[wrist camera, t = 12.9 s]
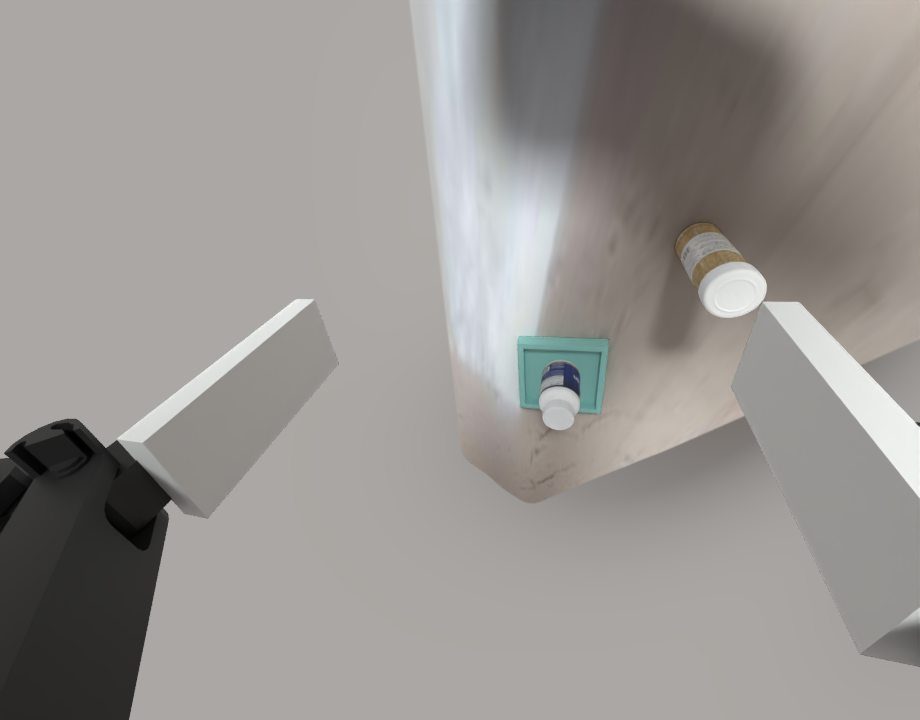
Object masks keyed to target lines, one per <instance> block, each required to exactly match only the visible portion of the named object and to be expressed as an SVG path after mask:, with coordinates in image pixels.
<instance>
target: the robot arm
mask: <svg viewBox="0 0 920 720" xmlns="http://www.w3.org/2000/svg"><path fill="white" fill-rule="evenodd" d="M338 364H339V362H338V360H337V357H336V354H335V352H334V349H333V346H332V344H331V341H330V338H329V336H328V333H327V330H326V328H325V325H324V322H323V320H322V317H321V314H320V311H319V309H318V306H317V303H316V301H315V299H296V300H295V301H293V302H292V303H291V304H289V305H288V306H287V307H286V308H284V309H283V310H282V311H280V312H279V313H278V314H277V315H275V316H274V317H273V318H272V319H270V320H269V321H268V322H266V323H265V324H264V325H262V326H261V327H260V328H259V329H257V330H256V331H255V332H253V333H252V334H251V335H250V336H248V337H247V338H246V339H244V340H243V341H242V342H241V343H239V344H238V345H237V346H235V347H234V348H233V349H232V350H230V351H229V352H228V353H226V354H225V355H224V356H223V357H221V358H220V359H219V360H217V362H215V363H214V364H212V365H211V366H210V367H209V368H207V369H206V370H205V371H203V372H202V373H201V374H199V375H198V376H197V377H196V378H194V379H193V380H192V381H190V382H189V383H188V384H187V385H185V386H184V387H183V388H182V389H180V390H179V391H178V392H176V393H175V394H174V395H172V396H171V397H170V398H169V399H167V400H166V401H165V402H164V403H162V404H161V405H160V406H158V407H157V408H156V409H155V410H153V411H152V412H151V413H149V414H148V415H147V416H145V418H143V419H142V420H140V421H139V422H138V423H137V424H135V425H134V426H133V427H131V428H130V429H129V430H127V431H126V432H125V433H124V434H122V435H121V436H120V437H119V438H117V440H116V441H115V442H114V443H112V444H111V445H110V446H109V447H107V448H105V447H104V446H103V445H102V444H101V443H100V442H99V441H98V440H97V438H95V436H94V435H93V434H92V433H91V432H90V431H89V430H88V429H87V428H86V427H85V426H84V425H83V424H82V423H81V422H80V421H79V420H77V419H65V420H61V421H56V422H53V423H51V424H48V425H45V426H43V427H41V428H38V429H37V430H35V431H33V432H31V433H29V434H27V435H25V436H24V437H23V438H21V439H20V440H18V441H17V442H15V443H14V444H13V445H12V446H11V447H10V448H9V449H8V450H7V451H6V452H5V453H4V454H5V455H7V456H8V457H9V458H5V459H0V720H129V717H130V712H131V707H132V702H133V697H134V691H135V686H136V681H137V676H138V672H139V666H140V662H141V656H142V652H143V646H144V642H145V636H146V631H147V626H148V621H149V616H150V611H151V606H152V601H153V596H154V591H155V586H156V581H157V576H158V571H159V566H160V561H161V556H162V551H163V546H164V541H165V536H166V531H167V526H168V520H169V518H168V513H167V512H166V511H165V510H164V509H163V507H164V506H166V504H167V503H168V502H169V501H170V500H172V501H173V502H174V503H175V504H176V505H177V506H178V507H179V508H180V509H181V510H182V512H183V513H184V514H188V515H193V516H198V517H202V518H209V517H210V515H211V514H212V513H213V512H214V511H215V509H216V508H217V507H218V506H219V505H220V503H221V502H222V501H223V500H224V499H225V498H226V496H227V495H228V494H229V493H230V492H231V491H232V489H233V488H234V487H235V486H236V485H237V483H238V482H239V481H240V480H241V479H242V478H243V476H244V475H245V474H246V473H247V472H248V471H249V469H250V468H251V467H252V466H253V465H254V463H255V462H256V461H257V460H258V459H259V457H260V456H261V455H262V454H263V453H264V452H265V450H266V449H267V448H268V447H269V446H270V445H271V443H272V442H273V441H274V440H275V439H276V437H277V436H278V435H279V434H280V433H281V432H282V430H283V429H284V428H285V427H286V426H287V425H288V423H289V422H290V421H291V420H292V419H293V417H294V416H295V415H296V414H297V413H298V411H299V410H300V409H301V408H302V407H303V406H304V404H305V403H306V402H307V401H308V400H309V398H310V397H311V396H312V395H313V394H314V392H315V391H316V390H317V389H318V388H319V387H320V386H321V384H322V383H323V382H324V381H325V380H326V378H327V377H328V376H329V375H330V374H331V372H332V371H333V370H334V369H335V368H336V367H337V365H338ZM731 388H732V390H733V392H734V394H735V396H736V398H737V400H738V402H739V404H740V406H741V408H742V411H743V413H744V415H745V417H746V419H747V421H748V423H749V425H750V427H751V429H752V431H753V433H754V436H755V438H756V440H757V442H758V444H759V446H760V448H761V450H762V452H763V454H764V456H765V458H766V460H767V463H768V465H769V467H770V469H771V471H772V473H773V475H774V477H775V479H776V481H777V483H778V485H779V488H780V489H781V492H782V494H783V496H784V498H785V500H786V502H787V504H788V506H789V508H790V510H791V513H792V515H793V517H794V519H795V521H796V523H797V525H798V527H799V529H800V531H801V533H802V535H803V537H804V540H805V542H806V544H807V546H808V548H809V550H810V552H811V554H812V556H813V558H814V560H815V563H816V565H817V567H818V569H819V571H820V573H821V575H822V577H823V579H824V581H825V583H826V585H827V587H828V590H829V592H830V594H831V596H832V598H833V600H834V602H835V604H836V606H837V608H838V610H839V612H840V614H841V617H842V619H843V621H844V623H845V625H846V627H847V629H848V631H849V633H850V635H851V637H852V640H853V642H854V644H855V646H856V648H857V650H858V652H859V654H860V655H865V656H870V657H875V658H880V659H885V660H889V661H894V662H899V663H903V664H908V665H914V666H918V667H920V423H918V422H914V421H913V420H912V419H911V418H910V417H909V416H908V415H907V414H906V413H905V411H904V410H903V409H902V408H901V407H900V406H899V405H898V404H897V403H896V402H895V401H894V400H893V399H892V398H891V397H890V396H889V395H888V394H887V393H886V392H885V391H884V390H883V389H882V388H881V387H880V386H879V384H878V383H877V382H876V381H875V380H874V379H873V378H872V377H871V376H870V375H869V374H868V373H867V372H866V371H865V370H864V369H863V368H862V367H861V366H860V365H859V364H858V363H857V362H856V361H855V360H854V359H853V357H852V356H851V355H850V354H849V353H848V352H847V351H846V350H845V349H844V348H843V347H842V346H841V345H840V344H839V343H838V342H837V341H836V340H835V339H834V338H833V337H832V336H831V335H830V334H829V333H828V332H827V330H826V329H825V328H824V327H823V326H822V325H821V324H820V323H819V322H818V321H817V320H816V319H815V318H814V317H813V316H812V315H811V314H810V313H809V312H808V311H807V310H806V309H805V308H804V307H803V306H802V305H801V303H800V302H762V304H761V306H760V309H759V312H758V315H757V317H756V320H755V323H754V325H753V328H752V331H751V334H750V336H749V339H748V342H747V344H746V347H745V350H744V353H743V355H742V358H741V361H740V363H739V366H738V369H737V372H736V374H735V377H734V380H733V382H732V385H731Z"/></svg>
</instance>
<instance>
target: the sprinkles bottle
mask: <svg viewBox="0 0 920 720" xmlns="http://www.w3.org/2000/svg"><path fill="white" fill-rule="evenodd" d="M675 251H676V254H677V256H678V257H679V259H681V262H682V265H683V267H684V268H685V270H686V272H687V274H688V276H689V278H690V280H691V281H692V283H693V285H694V286H695V287H696V289H697V290H698V295H699V298H700V300H701V302H702V304H703V306H704V307H705V309H706V310H707V311H708V312H709V313H711V314H712V315H714V316H717V317H721V318H735V317H739V316H742V315H745V314H747V313H749V312H751V311H752V310H754V309H755V308H756V307H757V306H759V305H760V303H761V302H762V301H763V299H764V297H765V295H766V292H767V284H766V281H765V279H764V277H763V276H762V275H761V273H760V272H759V271H758V270H757V269H756V268H755V267H754V266H752V265H750V264H748V263H747V262H746V261H745V259H744V258H743V256H742V255H741V254H740V252H739V251H738V250H737V249H736V248H735V247H734V246H733V245H732V244H731V243H730V242H729V240H728V239H727V238H726V237H725V236H723V235H722V234H721V231H720V230H719V229H718V228H717V227H716V226H714V225H713V224H710V223H697V224H693V225H691V226H689V227H688V228H686V229H685V230H684V231H683V232H682V233H681V234H680V235H679V236H678V238H677V240H676V244H675Z"/></svg>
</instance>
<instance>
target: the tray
mask: <svg viewBox="0 0 920 720" xmlns="http://www.w3.org/2000/svg"><path fill="white" fill-rule="evenodd" d="M608 350H609V343H608V339H594V338H562V337H530V336H519V340H518V367H519V392H520V407H523V408H535V409H540V407H539V395H540V388H541V379H542V373H543V370H544V368H545V366H546V365H547V364H548V363H550V362H552V361H555V360H567V361H570V362H572V363H573V364H575V365H576V366H577V368H578V369H579V372H580V408H579V411H578V412H584V413H596V414H601V407H602V399H603V391H604V383H605V375H606V366H607V358H608Z"/></svg>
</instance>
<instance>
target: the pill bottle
mask: <svg viewBox="0 0 920 720" xmlns="http://www.w3.org/2000/svg"><path fill="white" fill-rule="evenodd" d="M539 407H540V409H541V411H542V412H543V415H542V419H543V422H544V423H545V425H547V426H548V427H549V428H552V429H555V430H565V429H568V428H569V427H571V426H572V425H573V423H574V416H575V415H576V414H577V412H578V411H579V408H580V372H579V369H578V368H577V366H576V365H575V364H573V363H572V362H570V361H567V360H555V361H552V362H550V363H548V364H547V365H546V366H545V368H544V370H543V373H542V379H541V388H540V395H539Z"/></svg>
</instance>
